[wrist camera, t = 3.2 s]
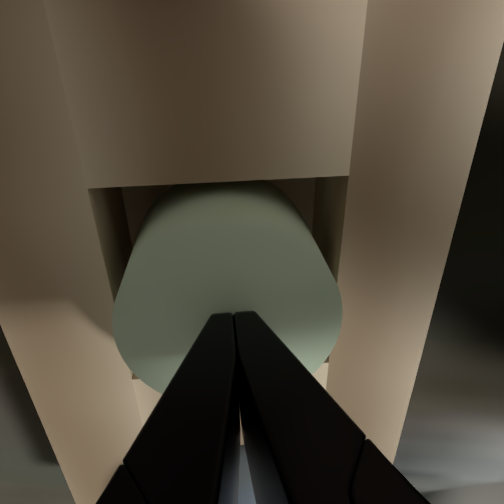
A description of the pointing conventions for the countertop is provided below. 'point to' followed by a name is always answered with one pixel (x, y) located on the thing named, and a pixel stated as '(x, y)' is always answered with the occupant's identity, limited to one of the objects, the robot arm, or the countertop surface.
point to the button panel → (230, 178)
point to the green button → (222, 276)
